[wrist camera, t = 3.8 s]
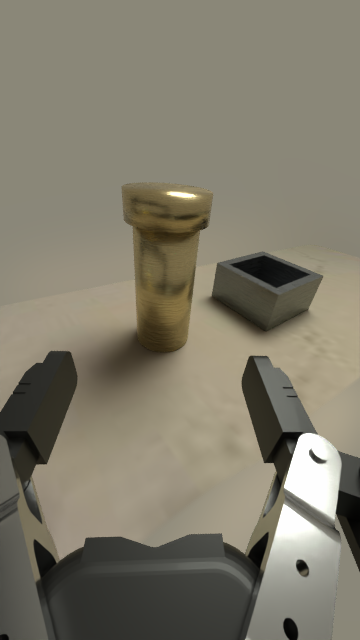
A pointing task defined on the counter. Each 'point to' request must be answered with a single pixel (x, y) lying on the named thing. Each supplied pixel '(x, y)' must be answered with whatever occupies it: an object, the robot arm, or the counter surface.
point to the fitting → (165, 257)
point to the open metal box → (265, 288)
